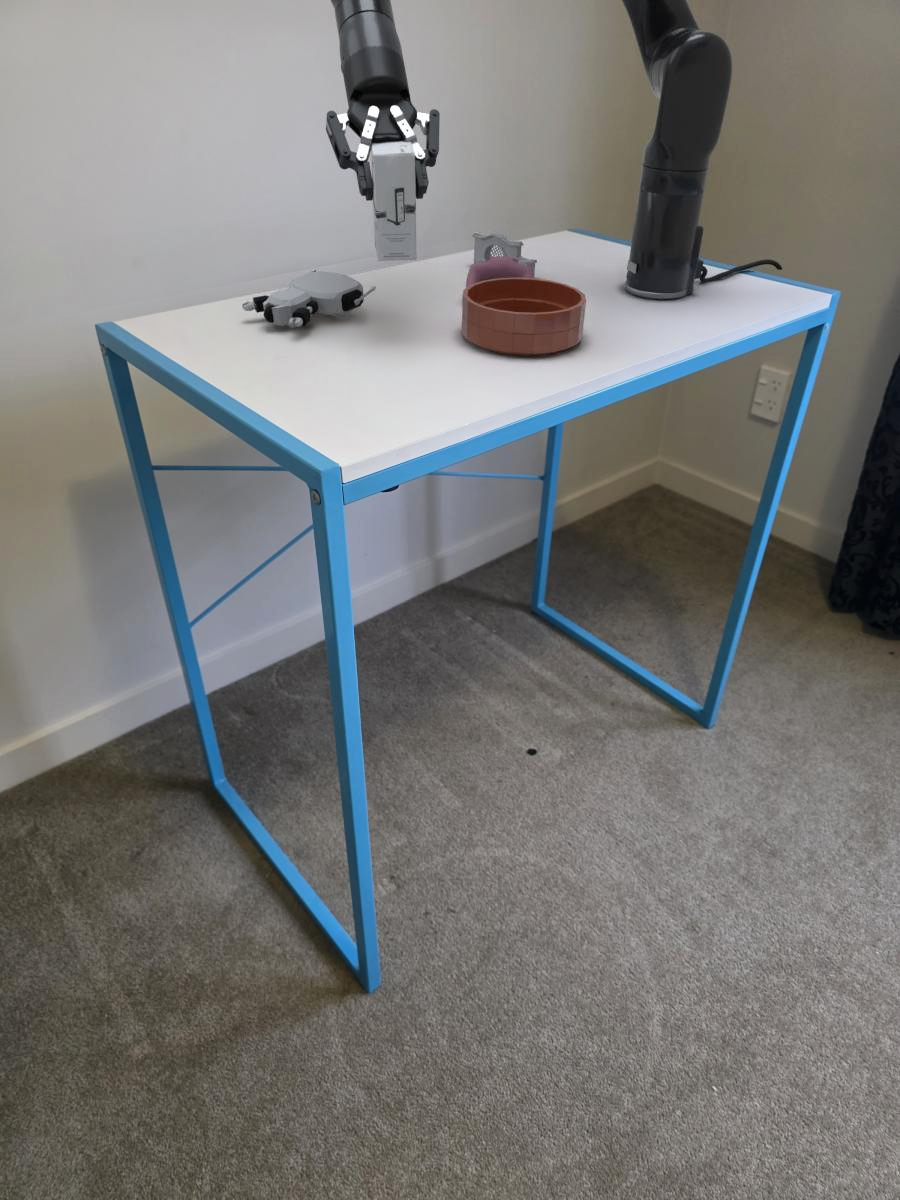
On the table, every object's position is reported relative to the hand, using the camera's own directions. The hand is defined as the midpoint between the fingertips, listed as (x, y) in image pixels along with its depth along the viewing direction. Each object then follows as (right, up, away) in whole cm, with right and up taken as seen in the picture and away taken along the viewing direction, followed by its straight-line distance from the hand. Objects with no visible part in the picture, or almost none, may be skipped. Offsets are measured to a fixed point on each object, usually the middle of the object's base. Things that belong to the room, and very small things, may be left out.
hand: (395, 195), depth 102 cm
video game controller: (+14, -4, +24) cm, 28 cm away
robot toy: (-13, -10, +16) cm, 22 cm away
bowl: (+16, -13, +11) cm, 24 cm away
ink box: (0, -5, +5) cm, 7 cm away
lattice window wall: (+15, +4, +36) cm, 40 cm away
